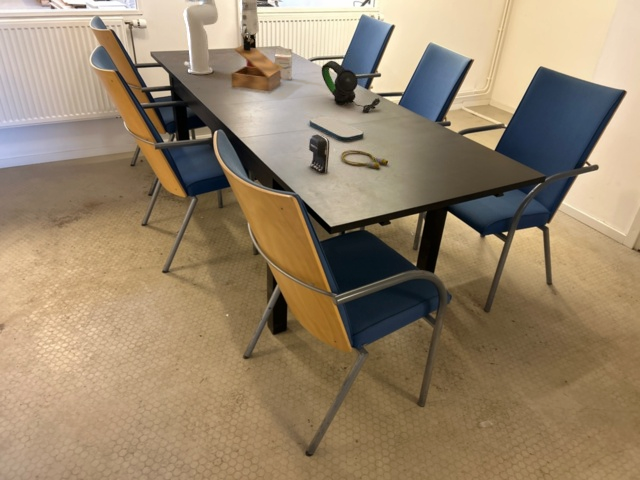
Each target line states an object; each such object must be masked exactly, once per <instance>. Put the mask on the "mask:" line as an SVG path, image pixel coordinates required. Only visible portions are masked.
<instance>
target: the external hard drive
mask: <svg viewBox="0 0 640 480" xmlns="http://www.w3.org/2000/svg"><path fill="white" fill-rule="evenodd" d="M309 125H310V126H311V127H313V128H315V129H317V130H319V131H321V132H322V133H325V134H327V135H328V136H330V137H332V138H334V139H336V140H337V141H338V140H339V141H342V142H351V141H356V140H358V139H359V140H360V139H362V138H363V137H364V131H363V130H361V129H359V128H357V127H355V126H352V125H351V124H349V123H347V122H344V121H342V120H340V119H338V118H336V117H335V116H334V117H333V116H330V115H322V116H316V117H313V118H310V119H309Z"/></svg>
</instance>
